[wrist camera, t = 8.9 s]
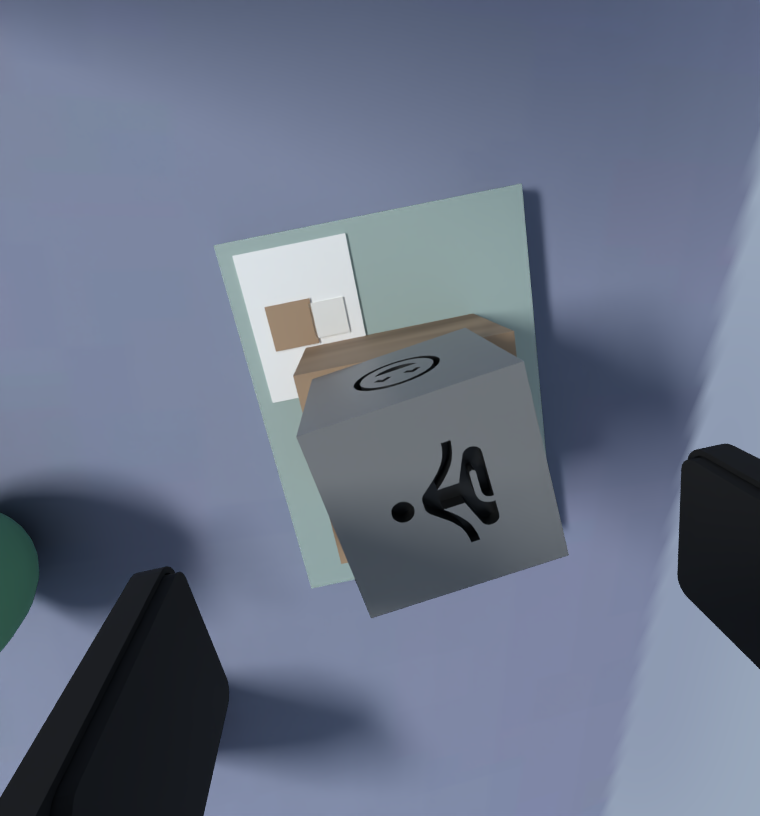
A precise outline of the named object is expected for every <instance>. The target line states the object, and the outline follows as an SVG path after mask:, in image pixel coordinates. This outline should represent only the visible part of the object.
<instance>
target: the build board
mask: <svg viewBox="0 0 760 816" xmlns="http://www.w3.org/2000/svg"><path fill="white" fill-rule="evenodd" d="M214 249H215V252H216V256H217V259H218V263H219V266H220V270H221V273H222V277H223V280H224V284H225V287H226V291H227V294H228V298H229V301H230V305H231V308H232V312H233V316H234V319H235V323H236V326H237V330H238V333H239V337H240V340H241V344H242V347H243V351H244V354H245V358H246V361H247V365H248V368H249V372H250V375H251V379H252V382H253V386H254V389H255V393H256V396H257V400H258V403H259V407H260V410H261V414H262V417H263V421H264V424H265V428H266V431H267V435H268V438H269V442H270V445H271V449H272V452H273V456H274V459H275V463H276V466H277V470H278V473H279V477H280V480H281V484H282V487H283V491H284V494H285V498H286V501H287V505H288V508H289V512H290V515H291V519H292V522H293V526H294V529H295V533H296V536H297V540H298V543H299V547H300V550H301V554H302V557H303V561H304V564H305V568H306V571H307V575H308V578H309V582H310V585H311V588H316V587H321V586H326V585H331V584H336V583H340V582H345V581H350V580H355V578H354V576H353V573H352V571H351V568H350V566H349V564H348V563H344V564H341V561H340V557H339V553H338V549H337V545H336V541H335V537H334V534H333V530H332V526H331V522H330V518H329V515H328V513H327V510H326V508H325V505H324V503H323V501H322V498H321V496H320V493H319V491H318V489H317V486H316V484H315V481H314V479H313V476H312V474H311V472H310V469H309V467H308V464H307V462H306V459H305V457H304V455H303V452H302V450H301V447H300V445H299V443H298V440H297V438H296V436H297V432H298V428H299V425H300V421H301V417H302V414H303V413H302V409H301V405H300V401H299V397H298V393H297V389H296V386H295V382H294V378H293V375H294V373H295V371H296V368H297V366H298V364H299V362H300V360H301V357H302V355H303V353H304V351H305V348H307V347H312V346H317V345H322V344H327V343H332V342H337V341H342V340H347V339H352V338H357V337H361V336H366V335H369V334H374V333H379V332H384V331H389V330H394V329H399V328H404V327H409V326H414V325H419V324H423V323H428V322H433V321H438V320H443V319H448V318H453V317H458V316H463V315H468V314H475V315H478V316H480V317H482V318H485V319H487V320H489V321H492V322H494V323H496V324H499V325H501V326H504V327H506V328H508V329H511V330H513V331H514V335H515V344H516V354H517V358H519V359H521V360H523V361H524V365H525V369H526V373H527V377H528V382H529V386H530V390H531V395H532V399H533V403H534V408H535V412H536V416H537V421H538V425H539V429H540V433H541V438H542V442H543V446H544V451H545V455H546V450H545V438H544V427H543V416H542V405H541V394H540V382H539V371H538V360H537V349H536V338H535V326H534V315H533V304H532V293H531V281H530V270H529V259H528V248H527V237H526V225H525V214H524V203H523V192H522V184H517V185H512V186H507V187H502V188H497V189H492V190H487V191H482V192H477V193H472V194H467V195H462V196H457V197H452V198H447V199H442V200H437V201H432V202H427V203H422V204H417V205H412V206H407V207H402V208H397V209H392V210H387V211H382V212H378V213H373V214H368V215H363V216H358V217H353V218H348V219H343V220H338V221H333V222H328V223H323V224H318V225H313V226H308V227H303V228H298V229H293V230H288V231H283V232H278V233H273V234H268V235H263V236H258V237H253V238H248V239H243V240H238V241H233V242H228V243H223V244H218V245H214Z"/></svg>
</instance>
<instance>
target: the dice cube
mask: <svg viewBox="0 0 760 816" xmlns="http://www.w3.org/2000/svg"><path fill="white" fill-rule="evenodd" d="M296 438H297V440H298V443H299V445H300V447H301V450H302V452H303V455H304V457H305V459H306V462H307V464H308V467H309V469H310V472H311V474H312V476H313V479H314V481H315V484H316V486H317V489H318V491H319V493H320V496H321V498H322V501H323V503H324V505H325V508H326V510H327V513H328V515H329V518H330V520H331V522H332V525H333V527H334V530H335V532H336V535H337V537H338V539H339V542H340V544H341V547H342V549H343V552H344V554H345V556H346V559H347V561H348V564H349V566H350V568H351V571H352V573H353V576H354V578H355V581H356V583H357V585H358V588H359V590H360V593H361V595H362V598H363V600H364V602H365V605H366V607H367V610H368V612H369V615H370V617H371V618H374V617H377V616H380V615H383V614H386V613H389V612H392V611H396V610H399V609H402V608H405V607H408V606H411V605H414V604H418V603H421V602H424V601H427V600H430V599H433V598H436V597H439V596H443V595H446V594H449V593H452V592H455V591H458V590H461V589H464V588H468V587H471V586H474V585H477V584H480V583H483V582H486V581H490V580H493V579H496V578H499V577H502V576H505V575H508V574H511V573H515V572H518V571H521V570H524V569H527V568H530V567H533V566H536V565H540V564H543V563H546V562H549V561H552V560H555V559H558V558H562V557H565V556H568V555H569V554H568V550H567V545H566V541H565V537H564V533H563V528H562V524H561V520H560V515H559V511H558V507H557V502H556V498H555V494H554V489H553V485H552V481H551V477H550V472H549V468H548V464H547V459H546V455H545V451H544V446H543V442H542V438H541V433H540V429H539V425H538V421H537V416H536V412H535V408H534V403H533V399H532V395H531V390H530V386H529V382H528V377H527V373H526V369H525V365H524V361H523V360H521V359H519V358H517V357H516V356H514V355H512V354H510V353H509V352H507V351H505V350H503V349H502V348H500V347H498V346H496V345H495V344H493V343H491V342H489V341H488V340H486V339H484V338H482V337H481V336H479V335H477V334H476V333H474V332H472V331H470V330H469V329H467V328H463V329H460V330H457V331H454V332H451V333H448V334H445V335H442V336H439V337H436V338H433V339H430V340H427V341H424V342H421V343H418V344H415V345H412V346H409V347H406V348H403V349H400V350H397V351H394V352H391V353H388V354H385V355H383V356H380V357H377V358H374V359H371V360H368V361H365V362H362V363H359V364H356V365H353V366H350V367H347V368H344V369H341V370H338V371H335V372H332V373H329V374H326V375H323V376H320V377H317V378H314V379H312V381H311V385H310V388H309V392H308V396H307V399H306V403H305V407H304V410H303V414H302V417H301V421H300V425H299V428H298V432H297V436H296Z"/></svg>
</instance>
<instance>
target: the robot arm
mask: <svg viewBox="0 0 760 816" xmlns="http://www.w3.org/2000/svg"><path fill="white" fill-rule="evenodd" d="M678 581H679V584H680V587H681V589H682V590H683V592H684V594H685V595H686V596H687V597H688V598H689V599H690V600H691V601H692V602H693V603H694V604H695V605H696V606H697V607H698V608H699V609H700V610H701V611H702V612H703V613H704V614H705V615H706V616H707V617H708V618H709V619H710V620H711V621H712V622H713V623H714V624H715V625H716V626H717V627H718V628H719V629H720V630H721V631H722V632H723V633H724V634H725V635H726V636H727V637H728V638H729V639H730V640H731V641H732V642H733V643H734V644H735V645H736V646H737V647H738V648H739V649H740V650H741V651H742V652H743V653H744V654H745V655H746V656H747V657H748V658H749V659H751V661H752V662H753V663H754V664H755V665H756V666H757V667H758V668H759V669H760V459H759V458H757V457H755V456H753V455H751V454H748V453H747V452H745V451H743V450H741V449H739V448H737V447H735V446H733V445H730V444H721V445H715V446H711V447H706V448H702V449H697V450H694V451H692V452H691V453H690V455H689V456H688V460H686V461H684V463H683V464H682V469H681V495H680V522H679V549H678ZM228 701H229V686H228V681H227V678H226V675H225V673H224V670H223V668H222V665H221V663H220V660H219V658H218V655H217V653H216V651H215V648H214V646H213V643H212V641H211V638H210V636H209V633H208V631H207V629H206V626H205V624H204V621H203V619H202V616H201V614H200V611H199V609H198V606H197V604H196V602H195V599H194V597H193V594H192V592H191V589H190V587H189V584H188V582H187V579H186V577H185V576H184V574H183V573H181V572H177V573H175V572H174V570H173V569H172V568H171V567H168V566H166V567H162V568H157V569H153V570H148V571H144V572H139V573H136V574H134V575H133V576H132V577H131V578H130V580H129V582H128V583H127V585H126V587H125V588H124V590H123V592H122V593H121V595H120V597H119V599H118V600H117V602H116V604H115V605H114V607H113V609H112V610H111V612H110V614H109V615H108V617H107V619H106V620H105V622H104V624H103V625H102V627H101V629H100V631H99V632H98V634H97V636H96V637H95V639H94V641H93V642H92V644H91V646H90V647H89V649H88V651H87V652H86V654H85V656H84V657H83V659H82V661H81V663H80V664H79V666H78V668H77V669H76V671H75V673H74V674H73V676H72V678H71V679H70V681H69V683H68V684H67V686H66V688H65V689H64V691H63V693H62V694H61V696H60V698H59V700H58V701H57V703H56V705H55V706H54V708H53V710H52V711H51V713H50V715H49V716H48V718H47V720H46V721H45V723H44V725H43V726H42V728H41V730H40V732H39V733H38V735H37V737H36V738H35V740H34V742H33V743H32V745H31V747H30V748H29V750H28V752H27V753H26V755H25V757H24V758H23V760H22V762H21V764H20V765H19V767H18V769H17V770H16V772H15V774H14V775H13V777H12V779H11V780H10V782H9V784H8V785H7V787H6V789H5V790H4V792H3V794H2V796H1V797H0V816H203V815H204V811H205V806H206V802H207V797H208V793H209V788H210V784H211V779H212V775H213V770H214V766H215V761H216V756H217V752H218V747H219V743H220V738H221V734H222V729H223V725H224V720H225V716H226V711H227V707H228Z"/></svg>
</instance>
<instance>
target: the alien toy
mask: <svg viewBox="0 0 760 816" xmlns="http://www.w3.org/2000/svg"><path fill="white" fill-rule="evenodd" d="M38 580H39V563H38V555H37V551H36V549H35V546H34V544H33V541H32V539H31V538H30V537H29V535H28V534H27V533H26V531H25V530H24V529H23V528H22V527H21V526H20V525H19V524H18V523H17V522H15V521H14V520H13V519H12V518H10V517H8V516H6V515H4V514H2V513H0V652H1V651H2V649H3V648H4V647H5V646H6V645H7V643H8V642H9V641H10V639H11V638H12V637H13V635H14V634H15V632H16V631H17V629H18V628H19V626H20V625H21V623H22V622H23V620H24V618H25V617H26V615H27V614H28V612H29V609H30V607H31V605H32V603H33V600H34V596H35V592H36V588H37V584H38Z"/></svg>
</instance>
